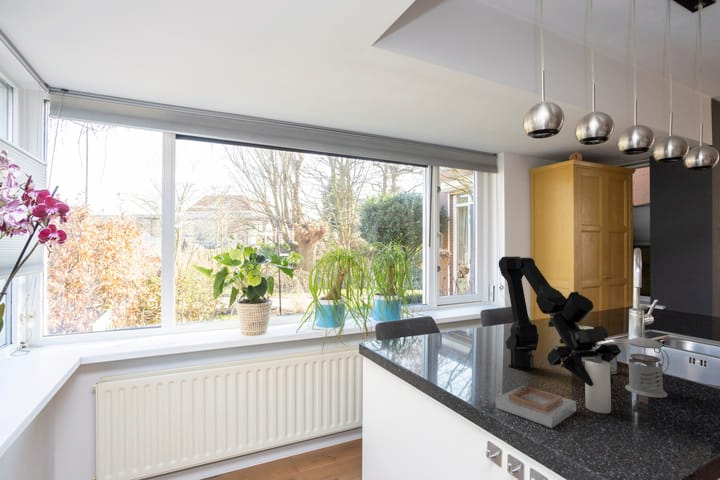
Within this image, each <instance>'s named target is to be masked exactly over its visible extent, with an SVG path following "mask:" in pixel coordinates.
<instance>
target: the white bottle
mask: <svg viewBox="0 0 720 480" xmlns="http://www.w3.org/2000/svg"><path fill="white" fill-rule="evenodd" d="M584 367H585V369H586V371H587V373H588V374H589V376H590V378H591V380H592V382H593V385H592V386H589V385H588V384H586V383H585V382H584V383H585V384H584V386H585V387H584V388H585V390H584V391H585V392H584V394H585V408H586V409H588V410H589V411H592V412H594V413H597V414H610V413H612V399H611V398H612V396H611V395H612V394H611V386H612V385H610V363H609V362H607V361H604V360H601V357H598V356H593V359H585V362H584Z"/></svg>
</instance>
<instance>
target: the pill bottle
mask: <svg viewBox="0 0 720 480" xmlns="http://www.w3.org/2000/svg"><path fill="white" fill-rule="evenodd" d="M610 369H611V374H612V375H616V374H617V373H618V355H617V356H616V357H615V358H614V359H613V360H612V361H610Z"/></svg>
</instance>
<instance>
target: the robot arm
mask: <svg viewBox="0 0 720 480" xmlns="http://www.w3.org/2000/svg"><path fill="white" fill-rule="evenodd" d="M498 268H499V271H500V274H501V276H502V277H503V279H505V281H506V283H507V288H508V289H507V290H508V293H509V295H508V296H509V300H510V306H511V313H512V318H513V322H512V324H511V327H510V335H509V337H508V338H507V339H506V341H505V346H506V349H508V350H510V364H508V367H510V368H513V369H518V370H521V371H529V370H531V369H534V368H535V365H534V361H535V360H534V359H535V358H534V355H533V351H537V348H538V343H539V339H540V338H539V337H540V336H539V332H538V327H537V325H536V324H533V323H532V322H531V321H530V319H529V313H528V308H527V303H526V302H527V301H526V297H525V291H524V286H523V277H525V279H526V280H527V282H528V284H529V285H530V287H531V288H532V290H533V291H534V293H535V295H536V298H535V303H536V304H537V307H538V308H539V311H540V312H541V313H542V314H545V315H553V317H549V321H548V324H547V325H548V327H549V328H553V327H554V328H555V330H556V331H557V333H558V335H559V337H560V339H559V344H562V346H561V345H560V346H554V347H553V348H552V349H551V351H550V352H549V353H548V354H547V361H548V363H549V365H550V366H553V367H555V366H560V367H561V368H562V369H566V370H568V371H569V372H571V374H573V375H575V376H576V377H577V378H579V379H580V380H581V381H582V382H584V383H586V384H588V385H589V386H592V385H593V382H592V380H591V378H590V376H589V374H588V373H587V371H586V369H585V365H584V364H583V362H582V358H587V357H592V358H593V356H598V357H601V360H604V361H607V362H609V363H610V361H612V360H613V359H614V358H615V357H616V356H617V357H618V356H619V354H621V353H622V350H621V349H620V348H619V346H618V345H617V344H615V343H603V344H600V346H599V347H598V349H596V350H593V347H595V346H596V345H597V344H596V342H598V343H600V342H605V341H606V339H607V338H609V337H610V336H609V333H608V331H607V329H606V327H604V325H597V326H594V327H593V328H594V329H580V328H579V326H580V325H578V324H579V323H581V322H582V321H584V320H585V318H586V317H587V316H588V315H589V314H590V312H592V310H593V309H594V303H593V302H592V300H590V299H589V298H588V297H586V296H584V295H582V294H580V293H579V291H571V292H570V293H569V294H568V296H567V297H566V296H564V294H563V293H562V292H561V291H559V290H558V289H556V288H554V287H553V286H552V285H550V283H549V282H548V280H547V278H546V277H545V276H544V275H543V274H542V272H541V270H540V269H539V268H538V266H537V265H536V261H535V260H534V258H532V257H521V256H517V255H515V256H502V257H501V258H500V259H499V260H498ZM613 378H614V377H613V374H611V369H610V385H611V386H612V385H613V384H614V383H615V381H614V379H613Z"/></svg>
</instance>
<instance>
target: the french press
mask: <svg viewBox="0 0 720 480" xmlns="http://www.w3.org/2000/svg"><path fill="white" fill-rule="evenodd" d="M648 308H649V307H648V305H646V304H641V305H639V309H640V310H642V311H643V313H642V314H643V317H645V310H649V309H648ZM645 323H646V321H645V319H643V337H635V338H631V339H628V340H627V342H628V343H627V344H628V345H631V346H633V347H638V348H643V351H644V353H631V354H629V357H630V358H629V359H628V368H629V369H628V381H629V382H628V384H626V385H625V386H624V388H625V390H627V391H629V392H631V393H634V394H636V395H638V396H639V395H640V396H644V397H648V398H649V397H651V398H661V399H663V398H667V397H668V396H669V394H668V393H667V392H666V391H665V390H664V380H663V379H664V378H663V374H664V373H666V372H667V371H668V368H669V365H670V358H669V355H668V353H667V351H666V350H664V349H663V344H662V343H660V342H659V341H657V340H656V339H655V340H654V339H653V338H652V339H651V338H647V337H646V330H645V328H646V327H645ZM646 349H652V350H653V351H654V353H657V354H661V356H662V360H661V358H660V357H658V356H655V355H650V354H647V353H646ZM656 350H658V351H656ZM662 351H663V352H664V353H665V355H666V358H667V366H666V368H665V370H664V371H663V366H664V364H665V363H664V362H665V356H664V354H663V352H662ZM661 361H662V362H661ZM660 362H661V363H660ZM639 363H640V364H639ZM657 363H658V365H657ZM643 364H644V365H643ZM657 372H658V373H657Z"/></svg>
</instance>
